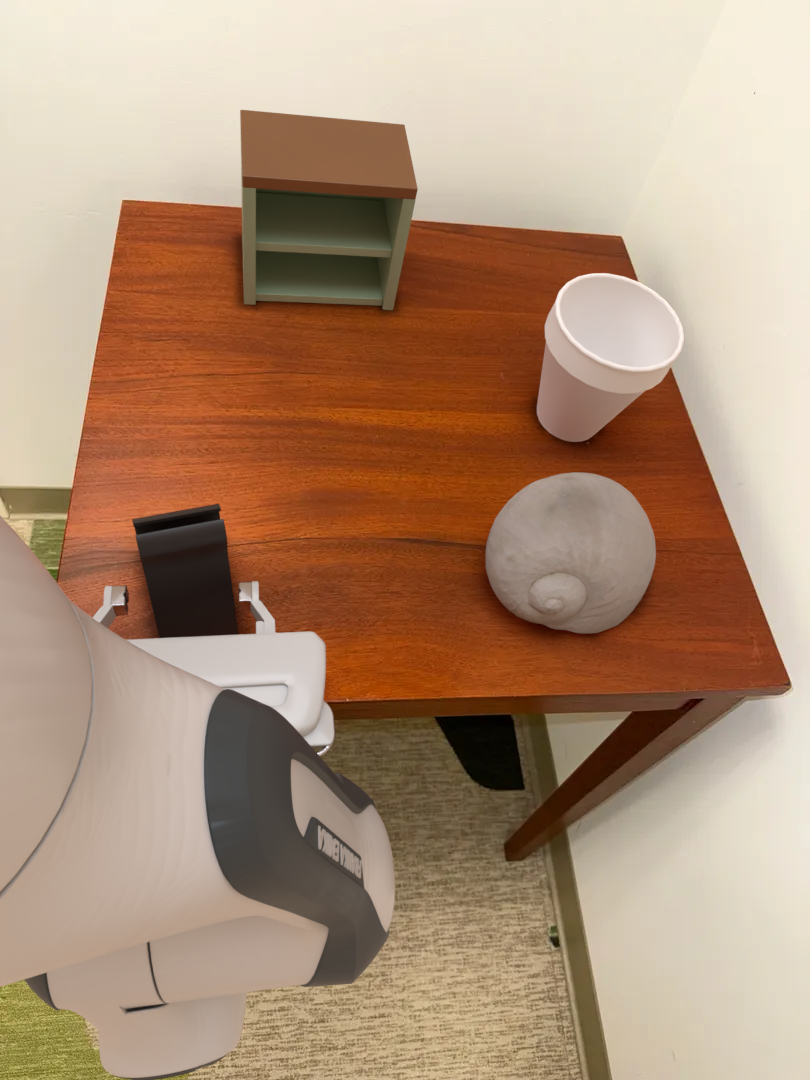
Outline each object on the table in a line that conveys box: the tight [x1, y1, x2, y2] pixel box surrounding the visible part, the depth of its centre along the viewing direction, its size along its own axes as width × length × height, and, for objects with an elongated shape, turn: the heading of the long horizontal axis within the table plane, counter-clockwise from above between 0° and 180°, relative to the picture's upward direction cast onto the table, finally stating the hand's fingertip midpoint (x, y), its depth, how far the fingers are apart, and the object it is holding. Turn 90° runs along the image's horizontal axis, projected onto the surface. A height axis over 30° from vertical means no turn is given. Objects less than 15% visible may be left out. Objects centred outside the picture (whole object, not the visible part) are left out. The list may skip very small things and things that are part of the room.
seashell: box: [485, 471, 657, 634], centre depth 68 cm, size 15×14×15 cm
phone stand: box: [131, 503, 239, 638], centre depth 58 cm, size 9×6×12 cm, turn 18°
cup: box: [536, 272, 685, 443], centre depth 75 cm, size 12×12×14 cm
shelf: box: [239, 109, 419, 311], centre depth 78 cm, size 16×10×15 cm, turn 97°
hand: (184, 586), depth 57 cm, fingers open, 8 cm apart
